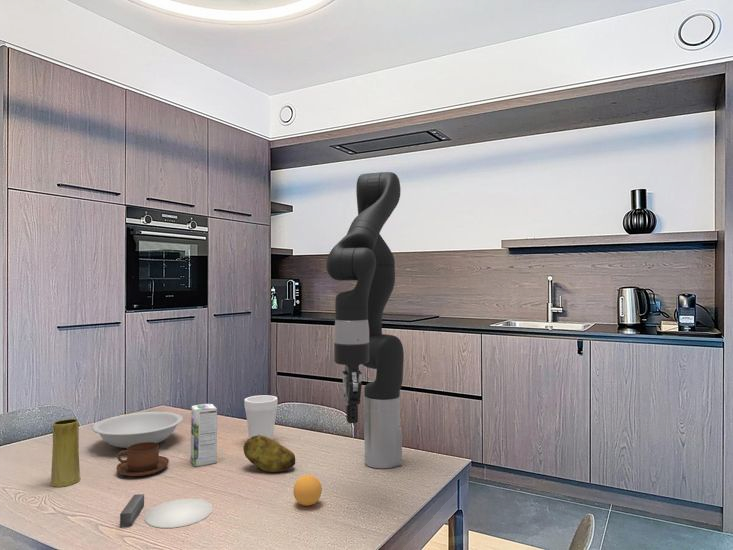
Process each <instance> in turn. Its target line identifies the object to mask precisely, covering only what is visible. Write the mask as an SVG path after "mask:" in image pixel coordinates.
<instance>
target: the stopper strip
mask: <svg viewBox="0 0 733 550" xmlns="http://www.w3.org/2000/svg"><path fill="white" fill-rule="evenodd" d="M144 507H145V493H142V494H141V493H139V494H138V493H137V494H133V496H132V497H131V499H130V500H128V502H127V504H126V506H125V507H123V510H121V512H120V513H119V527H120V528H122V527H124V528H125V527H132V526H133V524H134V523H135V521H136V519H137V518H138V517H139V516H140V513H141V512H142V510H143V508H144Z"/></svg>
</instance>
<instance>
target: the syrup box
mask: <svg viewBox="0 0 733 550" xmlns="http://www.w3.org/2000/svg"><path fill="white" fill-rule="evenodd" d="M190 415H191V416H190V417H191V419H190V462H191V463H192V465H193V467H196V468H197V467H200V466H201V467H202V466H207V465H211V464H216V463H217V459H218V458H217V457H218V455H217V453H218V451H217V447H218V446H217V445H218V441H217V440H218V439H217V438H218V434H217V433H218V408H217V407H216V406H215V405H214V404H212V403H202V404H195V405H191V413H190Z"/></svg>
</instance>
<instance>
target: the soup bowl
mask: <svg viewBox="0 0 733 550" xmlns="http://www.w3.org/2000/svg"><path fill="white" fill-rule="evenodd" d="M183 422H184V418H183V415H181V414H178V413H175V412H171V411H170V412H169V411H142V412H132V413H126V414H121V415H116V416H111V417H108V418H104V419H102V420H99V421H98V422H96V423H95V424H93V425H92V427H91V429H92V431H93V432H94V433H96V434H98V435H99V436H100V437H101V439H102V440H103V441H104V442H106V443H107V444H109V445H111V446H113V447H115V448H121V449H127V448H128V447H129V446H131V445H134V444H138V443H144V442H154V443H158V444H159V443H161V442H163V441H164V440H166V439H167V438H168V437H170V436H171V435H172V433H174V431H175V429H176V428H177V426H178V425H181V423H183Z"/></svg>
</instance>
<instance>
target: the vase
mask: <svg viewBox="0 0 733 550" xmlns="http://www.w3.org/2000/svg"><path fill="white" fill-rule="evenodd" d="M79 423H80V422H79V419H77V418H65V419H64V418H63V419H59V420H56V421H55V420H54V421H53V422H52V449H51V451H52V453H51V474H50V475H51V476H50V482H49V484H50V485H51V487H54V488H55V487H56V488H63V487H69V486H72V485H74V484H77V483H79V482H80V480H81V472H80V471H81V470H80V467H81V466H80V454H79V453H80V452H79V449H80V446H79V445H80V443H79V440H80V439H79V438H80V437H79V435H80V433H79V431H80V430H79V429H80V428H79V427H80V424H79Z"/></svg>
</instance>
